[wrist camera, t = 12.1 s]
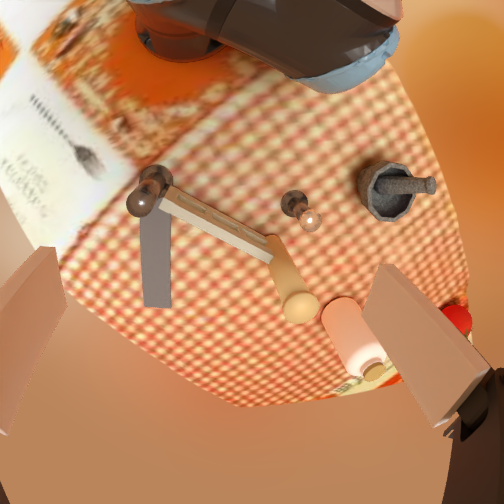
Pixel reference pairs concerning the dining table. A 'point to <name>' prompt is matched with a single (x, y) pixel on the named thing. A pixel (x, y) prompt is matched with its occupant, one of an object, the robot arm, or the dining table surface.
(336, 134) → the dining table surface
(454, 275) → the dining table surface
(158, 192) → the brown knob post
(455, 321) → the tomato
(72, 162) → the dining table surface
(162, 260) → the strip
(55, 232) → the dining table surface
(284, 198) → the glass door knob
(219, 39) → the robot arm
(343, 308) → the potion bottle
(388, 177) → the mortar and pestle
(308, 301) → the slotted fence panel
